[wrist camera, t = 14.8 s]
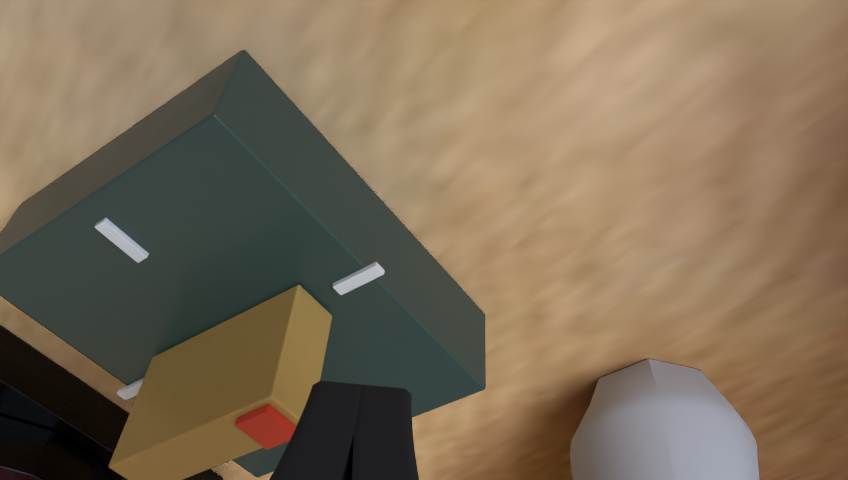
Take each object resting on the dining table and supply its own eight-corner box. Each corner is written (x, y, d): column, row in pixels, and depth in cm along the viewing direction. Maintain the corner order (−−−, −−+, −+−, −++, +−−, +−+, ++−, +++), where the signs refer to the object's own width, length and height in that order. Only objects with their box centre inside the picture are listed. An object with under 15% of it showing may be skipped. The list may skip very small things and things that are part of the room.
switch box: (-176, 390, 30) (-241, 473, 27) (-36, 300, 26) (-94, 385, 23) (81, 535, 36) (49, 614, 33) (224, 478, 32) (201, 561, 29)
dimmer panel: (12, 209, 23) (-42, 285, 21) (255, 40, 19) (223, 109, 17) (267, 408, 29) (248, 486, 26) (495, 309, 25) (497, 390, 22)
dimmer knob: (187, 383, 23) (145, 502, 20) (151, 356, 22) (102, 476, 20) (333, 315, 21) (310, 438, 18) (299, 282, 20) (268, 405, 17)
